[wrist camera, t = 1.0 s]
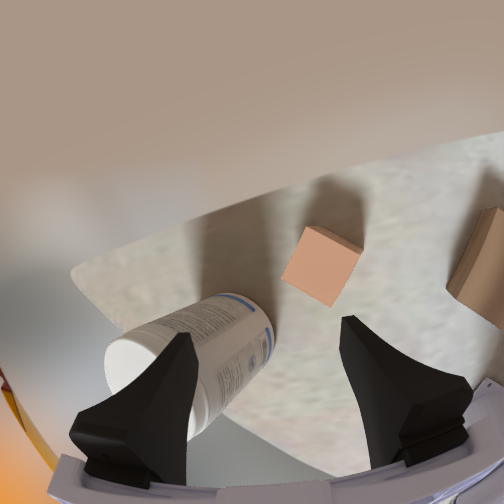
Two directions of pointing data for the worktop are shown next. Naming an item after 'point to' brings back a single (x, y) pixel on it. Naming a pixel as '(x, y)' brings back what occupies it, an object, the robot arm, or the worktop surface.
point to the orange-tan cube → (321, 264)
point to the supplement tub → (200, 351)
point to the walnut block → (483, 269)
